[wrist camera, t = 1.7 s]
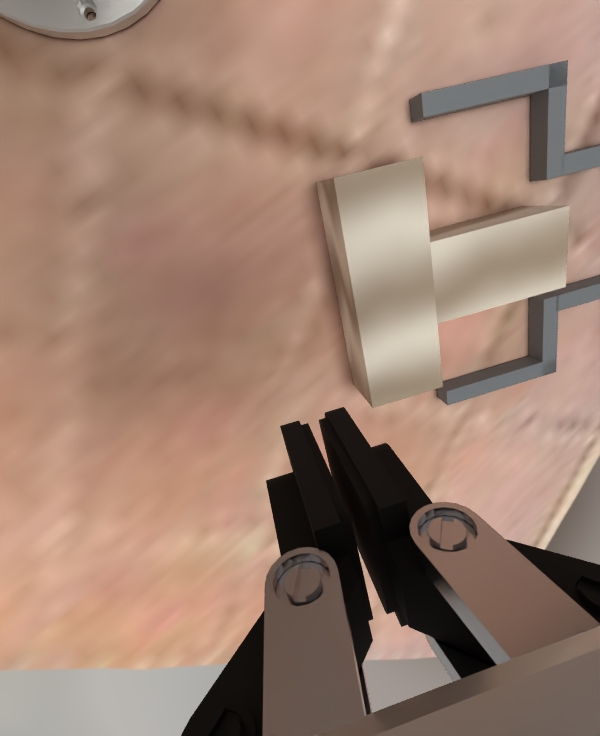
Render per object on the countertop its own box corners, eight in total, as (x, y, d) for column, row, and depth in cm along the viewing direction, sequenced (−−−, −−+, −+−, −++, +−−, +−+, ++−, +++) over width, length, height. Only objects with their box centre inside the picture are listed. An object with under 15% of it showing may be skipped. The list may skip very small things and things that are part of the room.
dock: (409, 99, 24) (421, 93, 23) (674, 39, 26) (700, 30, 24) (437, 396, 32) (447, 405, 31) (638, 335, 34) (655, 340, 33)
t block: (315, 182, 25) (333, 178, 21) (522, 133, 26) (572, 120, 22) (353, 384, 30) (372, 408, 27) (522, 334, 32) (563, 350, 28)
